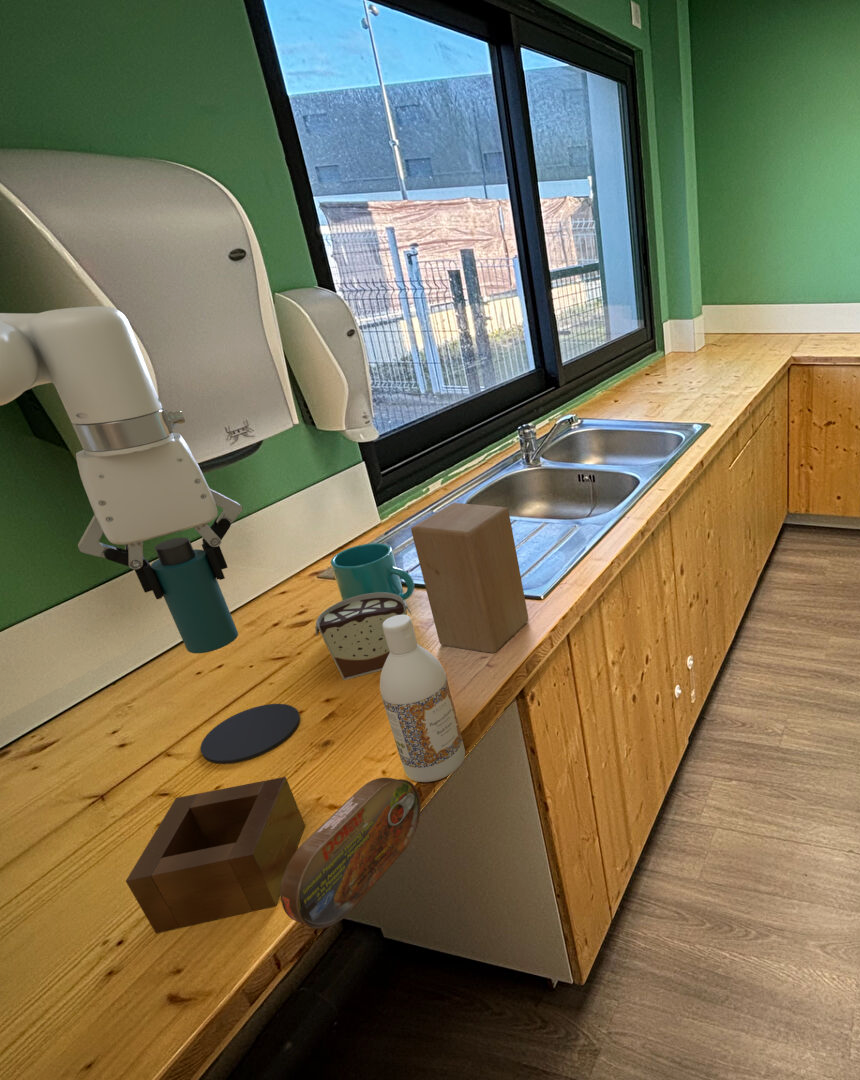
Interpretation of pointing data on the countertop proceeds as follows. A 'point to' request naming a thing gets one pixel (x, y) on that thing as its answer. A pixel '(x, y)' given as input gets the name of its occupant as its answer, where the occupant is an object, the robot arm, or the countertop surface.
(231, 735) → the coaster
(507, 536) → the wooden block
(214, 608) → the bottle
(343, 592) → the cup
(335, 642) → the food container
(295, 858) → the tin
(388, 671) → the bath foam
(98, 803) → the countertop surface
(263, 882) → the holder
